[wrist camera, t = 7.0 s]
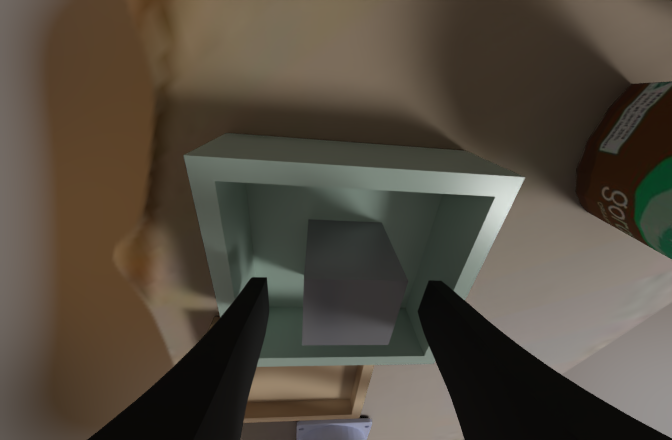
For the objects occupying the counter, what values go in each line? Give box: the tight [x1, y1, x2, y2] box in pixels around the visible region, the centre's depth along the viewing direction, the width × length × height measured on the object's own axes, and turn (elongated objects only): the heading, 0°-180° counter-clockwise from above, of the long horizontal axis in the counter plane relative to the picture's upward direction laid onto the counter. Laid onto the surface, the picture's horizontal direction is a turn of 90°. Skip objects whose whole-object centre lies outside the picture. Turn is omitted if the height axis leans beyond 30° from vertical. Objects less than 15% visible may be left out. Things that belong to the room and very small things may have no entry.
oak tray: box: [208, 317, 374, 423], centre depth 19 cm, size 12×12×2 cm
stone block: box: [302, 219, 408, 345], centre depth 12 cm, size 4×4×4 cm
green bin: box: [183, 133, 525, 367], centre depth 13 cm, size 12×12×4 cm
